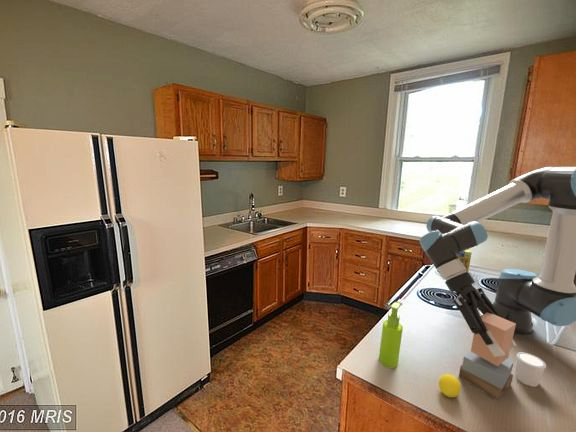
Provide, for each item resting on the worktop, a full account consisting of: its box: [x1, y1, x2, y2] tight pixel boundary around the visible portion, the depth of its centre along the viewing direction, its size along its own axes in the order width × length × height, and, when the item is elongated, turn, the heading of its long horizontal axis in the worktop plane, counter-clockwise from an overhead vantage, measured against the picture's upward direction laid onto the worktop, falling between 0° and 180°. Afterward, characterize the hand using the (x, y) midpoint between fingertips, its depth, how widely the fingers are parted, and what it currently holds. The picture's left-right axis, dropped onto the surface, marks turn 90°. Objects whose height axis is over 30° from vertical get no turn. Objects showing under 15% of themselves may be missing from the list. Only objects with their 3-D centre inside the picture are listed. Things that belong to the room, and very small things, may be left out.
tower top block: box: [461, 348, 515, 389], centre depth 83 cm, size 10×10×4 cm
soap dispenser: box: [378, 301, 404, 369], centre depth 89 cm, size 6×7×20 cm
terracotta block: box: [470, 312, 516, 366], centre depth 80 cm, size 7×7×11 cm
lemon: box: [438, 373, 462, 398], centre depth 78 cm, size 7×5×5 cm
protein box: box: [456, 249, 472, 272], centre depth 168 cm, size 10×15×16 cm
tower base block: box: [458, 364, 514, 401], centre depth 83 cm, size 10×10×4 cm
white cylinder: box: [514, 351, 547, 388], centre depth 84 cm, size 7×7×7 cm
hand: (505, 350), depth 78 cm, fingers closed on terracotta block, 7 cm apart
